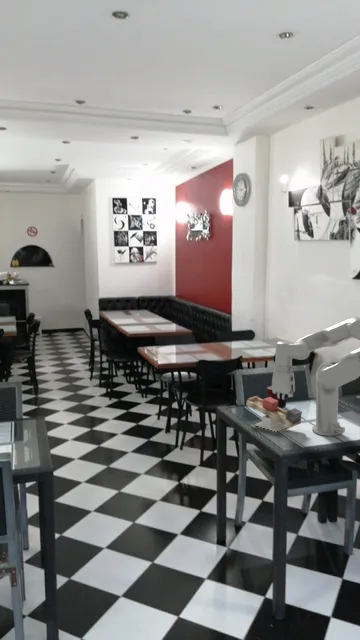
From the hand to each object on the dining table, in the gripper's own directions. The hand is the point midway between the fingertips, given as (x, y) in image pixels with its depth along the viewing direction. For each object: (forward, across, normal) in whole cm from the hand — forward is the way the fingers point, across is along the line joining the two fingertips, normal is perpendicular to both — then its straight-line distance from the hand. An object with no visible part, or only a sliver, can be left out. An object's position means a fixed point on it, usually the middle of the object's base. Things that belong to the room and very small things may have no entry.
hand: (282, 407), depth 237 cm
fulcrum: (+11, +5, 0) cm, 12 cm away
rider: (+3, +8, 0) cm, 8 cm away
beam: (+5, +5, 0) cm, 7 cm away
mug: (+11, +23, -26) cm, 37 cm away
